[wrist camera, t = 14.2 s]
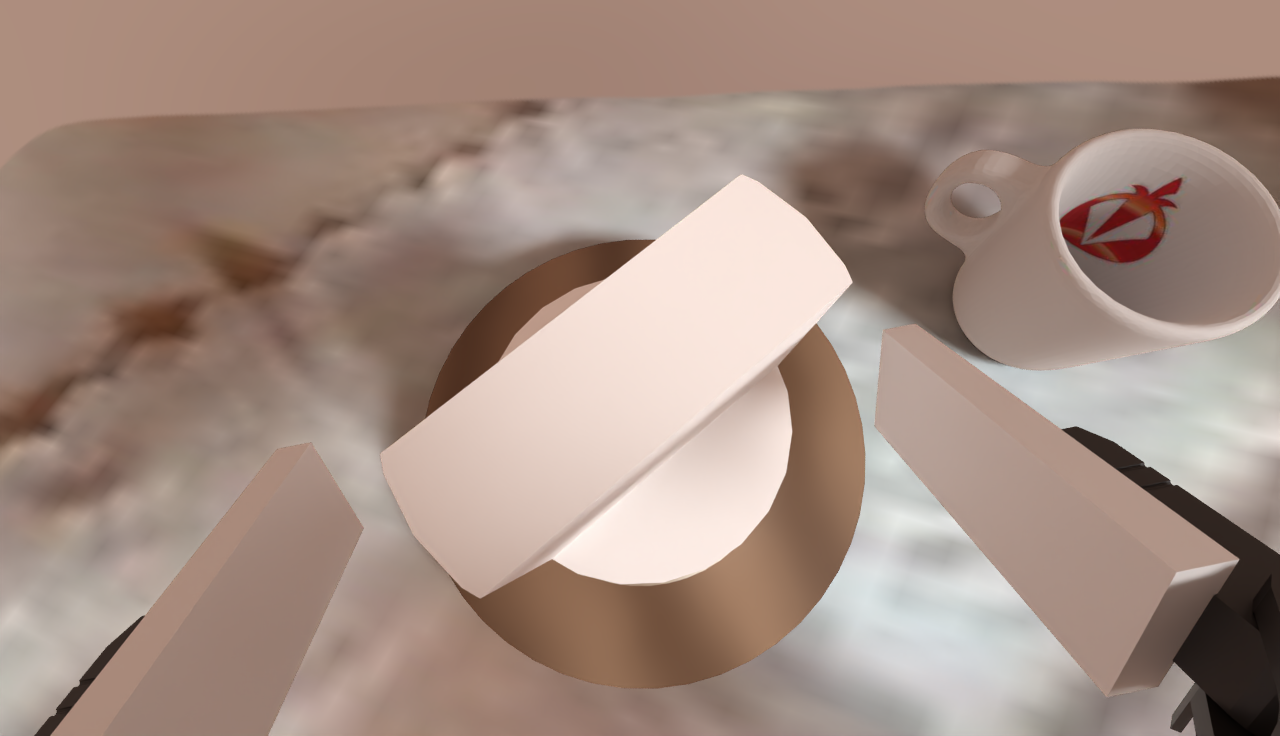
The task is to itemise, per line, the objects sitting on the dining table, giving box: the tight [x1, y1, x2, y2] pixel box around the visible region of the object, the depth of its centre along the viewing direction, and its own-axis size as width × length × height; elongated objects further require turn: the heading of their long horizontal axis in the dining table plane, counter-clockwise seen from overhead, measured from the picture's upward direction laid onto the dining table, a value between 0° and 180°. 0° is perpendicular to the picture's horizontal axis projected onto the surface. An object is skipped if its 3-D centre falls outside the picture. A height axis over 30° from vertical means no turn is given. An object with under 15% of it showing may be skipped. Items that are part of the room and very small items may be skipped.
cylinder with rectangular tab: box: [380, 174, 853, 598], centre depth 15 cm, size 9×9×12 cm
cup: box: [924, 129, 1280, 370], centre depth 22 cm, size 11×8×8 cm
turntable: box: [425, 240, 865, 688], centre depth 22 cm, size 18×18×3 cm
